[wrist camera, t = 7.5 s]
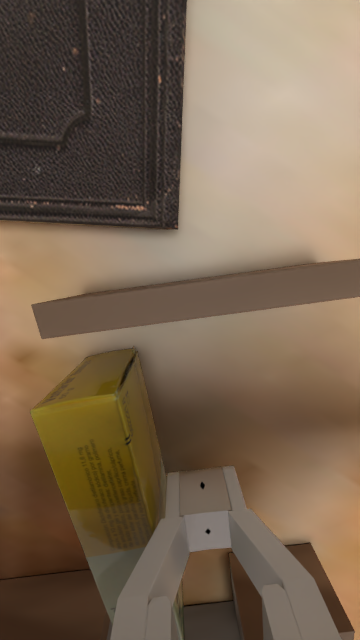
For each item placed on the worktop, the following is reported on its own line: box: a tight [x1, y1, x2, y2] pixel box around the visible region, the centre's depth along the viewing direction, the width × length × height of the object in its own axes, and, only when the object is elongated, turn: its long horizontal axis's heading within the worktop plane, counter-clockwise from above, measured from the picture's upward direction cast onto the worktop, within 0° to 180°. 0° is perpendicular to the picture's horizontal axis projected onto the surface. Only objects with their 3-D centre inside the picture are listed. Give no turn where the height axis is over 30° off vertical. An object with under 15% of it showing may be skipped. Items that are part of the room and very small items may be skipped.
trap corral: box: [0, 259, 360, 640], centre depth 9 cm, size 22×23×3 cm
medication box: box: [30, 346, 185, 640], centre depth 8 cm, size 12×3×4 cm, turn 10°
